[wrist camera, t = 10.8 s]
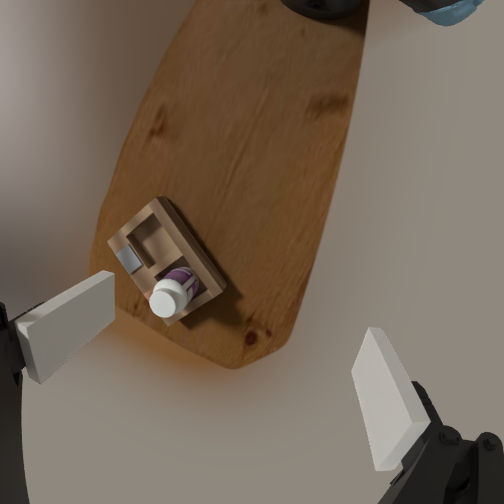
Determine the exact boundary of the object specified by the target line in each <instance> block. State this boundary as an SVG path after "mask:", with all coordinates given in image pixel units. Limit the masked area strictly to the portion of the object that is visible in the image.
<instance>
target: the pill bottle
mask: <svg viewBox="0 0 504 504" xmlns="http://www.w3.org/2000/svg"><path fill="white" fill-rule="evenodd" d="M198 288H199V279H198V276H197V275H196V273H195V272H194V271H193V270H192V269H190V268H188V267H183V266H181V267H177V268H175V269H173V270H172V271H171V272H170V273H168V274H167V275H166V276H165V277H164V278H163V279H161V280H160V281H159V282H158V283H157V284H156V285H155V287H154V290H153V294H152V295H151V297H150V300H149V303H150V307H151V309H152V311H153V312H154V313H155V314H156V315H158V316H160V317H164V318H167V317H170V316H172V315H173V314H176V313H179V312H181V311H182V310H183V309H184V308H185V307H186V305H187V304H188V303H189V302H190V300H191V299H192V298H193V296H194V295H195V294H196V292H197V291H198Z"/></svg>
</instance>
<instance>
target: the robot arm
mask: <svg viewBox="0 0 504 504" xmlns="http://www.w3.org/2000/svg"><path fill="white" fill-rule="evenodd" d="M399 1H401V2H403V3H404V4H406V5H407V6H409V7H411V8H412V9H413V10H414V12H416V13H418V14H420V15H423V16H425V17H426V18H428V19H429V20H431V21H432V22H434V23H435V24H438V25H442V26H451V25H455V24H457V23H459V22H461V21H462V20H464V19H465V18H467V17H468V16H469V15H470V14H472V13H473V12H474V11H475V10H476V9H477V6H478V5H480V4H481V3H482V2H483V1H484V0H399ZM281 2H282V3H283V4H284V5H286V6H287V7H288V8H290V9H291V10H293V11H295V12H297V13H299V14H302V15H305V16H308V17H312V18H317V19H337V18H342V17H345V16H348V15H350V14H352V13H353V12H354V11H356V9H357V8H358V7H359V5H360V3H361V0H281ZM114 320H115V298H114V273H111V272H107V271H104V270H103V271H101V272H99V273H97V274H95V275H93V276H92V277H90V278H88V279H87V280H84V281H83V282H81V283H79V284H77V285H75V286H73V287H72V288H70V289H68V290H66V291H64V292H63V293H61V294H59V295H58V296H56V297H54V298H52V299H50V300H49V301H46V302H42V303H40V304H38V305H36V306H34V307H33V308H31V309H29V310H28V311H27V312H24V313H22V314H21V315H19V316H17V317H16V318H14V319H12V320H11V321H9V322H8V318H7V313H6V309H5V305H4V304H3V303H2V302H0V504H30V503H29V498H28V493H27V486H26V480H25V472H24V462H23V450H22V428H21V403H22V380H23V375H22V371H21V370H22V369H23V368H24V367H25V366H26V368H27V372H28V374H29V377H30V378H31V379H33V380H35V381H36V382H38V383H39V384H42V383H43V382H44V381H45V380H47V379H48V378H49V377H50V376H51V375H52V374H53V373H54V372H55V371H57V370H58V369H59V368H60V367H61V366H62V365H63V364H64V363H65V362H67V361H68V360H69V359H70V358H71V357H72V356H73V355H74V354H76V353H77V352H78V351H79V350H80V349H81V348H82V347H83V346H85V345H86V344H87V343H88V342H89V341H90V340H91V339H93V338H94V337H95V336H96V335H97V334H98V333H100V332H101V331H102V330H103V329H104V328H105V327H107V326H108V325H109V324H110V323H111V322H112V321H114ZM351 372H352V376H353V380H354V383H355V387H356V391H357V394H358V398H359V402H360V406H361V410H362V414H363V418H364V422H365V426H366V430H367V434H368V439H369V443H370V447H371V452H372V456H373V461H374V466H375V470H376V471H388V470H394V469H395V468H396V466H397V465H398V464H399V463H400V461H401V462H402V465H403V469H402V471H401V472H400V473H399V474H398V475H397V476H396V477H395V478H394V479H393V480H392V482H391V483H390V484H391V486H390V487H389V489H388V490H387V492H386V493H385V494H384V496H383V497H382V499H381V500H380V501H379V503H378V504H504V452H503V445H502V442H501V440H500V439H499V438H498V436H496V435H495V434H493V433H490V432H484V433H481V434H480V436H479V437H478V438H477V439H476V441H469V440H463V439H462V438H461V435H460V434H459V432H458V431H457V430H455V429H454V428H452V427H449V426H445V425H443V423H442V421H441V419H440V418H439V416H438V414H437V412H436V410H435V408H434V406H433V405H432V402H431V400H430V398H428V395H427V393H426V391H425V389H424V388H423V387H422V386H421V385H420V384H419V383H418V382H417V381H410V379H409V377H408V375H407V373H406V371H405V369H404V367H403V365H402V364H401V362H400V360H399V358H398V356H397V355H396V353H395V351H394V349H393V347H392V345H391V343H390V342H389V340H388V338H387V336H386V335H385V333H384V331H383V329H380V328H373V327H368V330H367V333H366V335H365V339H364V341H363V343H362V346H361V349H360V351H359V354H358V356H357V359H356V361H355V364H354V366H353V369H352V371H351Z"/></svg>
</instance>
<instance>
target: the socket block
mask: <svg viewBox="0 0 504 504" xmlns="http://www.w3.org/2000/svg"><path fill="white" fill-rule="evenodd" d="M107 242H108V244H109V245H110V247H111V248H112V250H113V251H114V253H115V254H116V256H117V257H118V259H119V260H120V262H121V263H122V265H123V266H124V268H125V269H126V271H127V272H128V273H129V275H130V276H131V278H132V279H133V281H134V282H135V283H136V285H137V286H138V287H139V289H140V290H141V292H142V293H143V294H144V296H145V297H146V298H147V300H148V301H149V300H150V297H151V295H152V294H153V290H154V287H155V285H156V284H157V283H158V282H159V281H160V280H161V279H163V278H164V277H165V276H166V275H167V274H168V273H170V272H171V271H172V270H173V269H175V268H177V267H181V266H183V267H188V268H190V269H192V270H193V271H194V272H195V273H196V275H197V276H198V279H199V288H198V291H197V292H196V294H195V295H194V296H193V298H192V299H191V300H190V302H189V303H188V304H187V305H186V307H185V308H184V309H183V310H182V311H181V312H179V313H176V314H173V315H172V316H170V317H167V318H164V317H161V318H162V319H163V321H164V322H165V323H166V324H167V326H169V325H171V324H173V323H174V322H176V321H177V320H179V319H181V318H182V317H184V316H185V315H187V314H189V313H190V312H192V311H193V310H195V309H197V308H198V307H200V306H201V305H203V304H205V303H206V302H208V301H209V300H211V299H213V298H214V297H216V296H217V295H219V294H220V293H222V292H223V291H224V289H225V288H226V286H227V282H226V281H225V280H224V278H223V277H222V276H221V274H220V273H219V272H218V270H217V269H216V267H215V266H214V265H213V263H212V262H211V261H210V259H209V258H208V256H207V255H206V254H205V252H204V251H203V249H202V248H201V247H200V245H199V244H198V243H197V241H196V240H195V238H194V237H193V235H192V234H191V233H190V231H189V230H188V228H187V227H186V226H185V224H184V223H183V221H182V220H181V218H180V217H179V216H178V214H177V213H176V211H175V210H174V208H173V207H172V206H171V204H170V203H169V201H168V200H167V198H166V197H165V196H162V197H156V198H154V199H153V200H152V201H151V202H150V203H149V204H148V205H146V206H145V207H144V208H143V209H142V210H141V211H140V212H139V213H137V214H136V215H135V216H134V217H133V218H132V219H131V220H130V221H129V222H128V223H126V224H125V225H124V226H123V227H122V228H121V229H120V230H119V231H118V232H117V233H116V234H115V235H114V236H113V237H112V238H111V239H110V240H109V241H107Z"/></svg>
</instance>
